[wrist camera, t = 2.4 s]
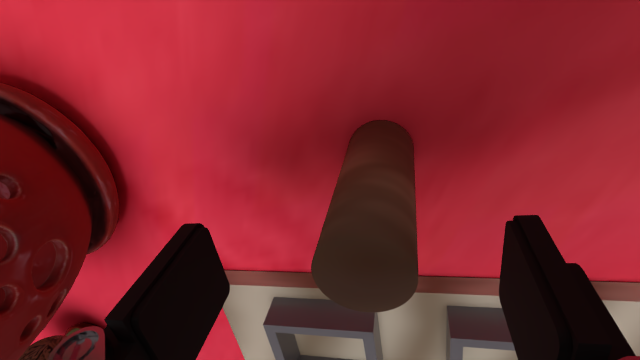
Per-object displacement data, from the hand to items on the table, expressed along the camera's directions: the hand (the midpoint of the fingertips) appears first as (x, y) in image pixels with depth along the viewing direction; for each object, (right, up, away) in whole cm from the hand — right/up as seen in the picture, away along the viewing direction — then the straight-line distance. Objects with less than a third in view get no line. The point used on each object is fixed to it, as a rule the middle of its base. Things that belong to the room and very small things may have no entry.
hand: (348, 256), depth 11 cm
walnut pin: (+2, +4, +5) cm, 7 cm away
